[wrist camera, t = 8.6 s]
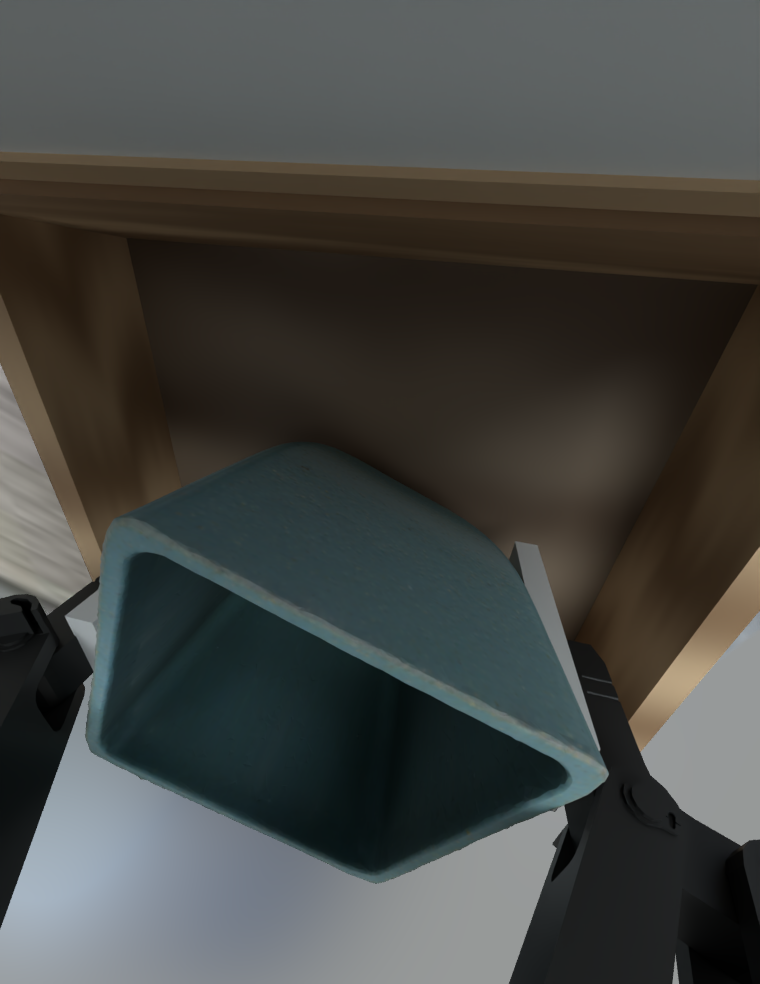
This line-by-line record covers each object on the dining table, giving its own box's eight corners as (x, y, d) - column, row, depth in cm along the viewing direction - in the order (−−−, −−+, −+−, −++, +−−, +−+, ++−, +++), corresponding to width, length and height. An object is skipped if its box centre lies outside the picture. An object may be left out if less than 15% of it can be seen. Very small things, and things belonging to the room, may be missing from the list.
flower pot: (532, 501, 13) (634, 792, 5) (414, 631, 17) (375, 894, 10) (322, 381, 13) (97, 507, 5) (255, 546, 17) (81, 751, 9)
